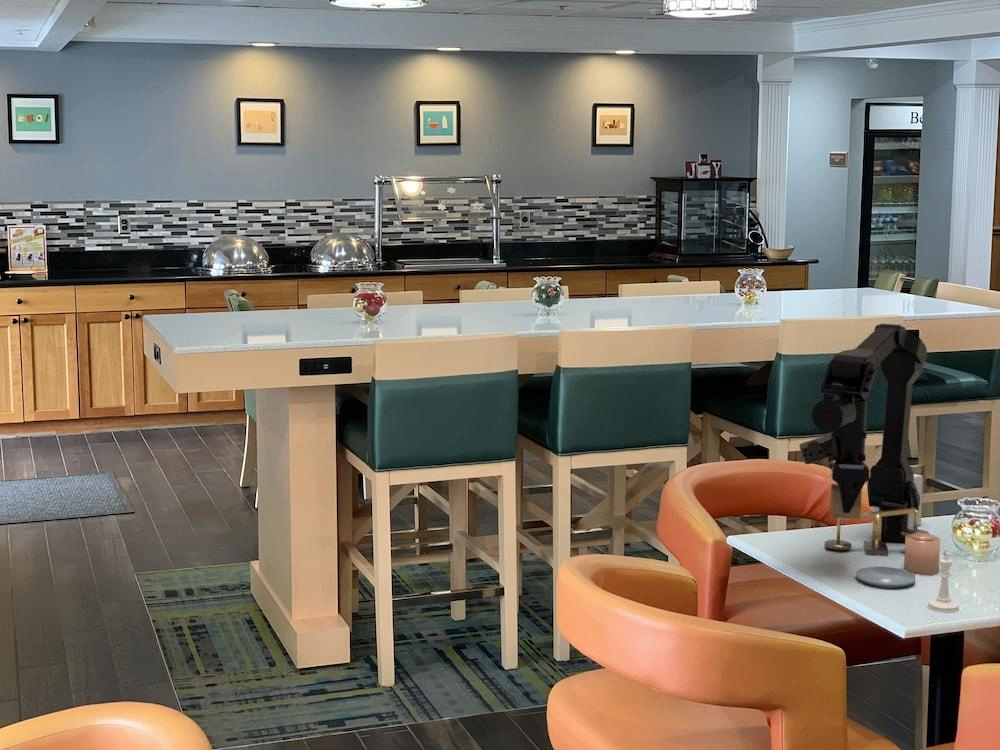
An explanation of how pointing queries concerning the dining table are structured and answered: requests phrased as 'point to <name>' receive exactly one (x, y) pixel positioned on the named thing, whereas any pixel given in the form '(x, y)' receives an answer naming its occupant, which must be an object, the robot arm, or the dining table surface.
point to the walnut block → (837, 507)
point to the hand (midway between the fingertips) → (845, 509)
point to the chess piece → (944, 588)
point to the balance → (874, 532)
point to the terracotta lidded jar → (922, 554)
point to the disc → (885, 577)
